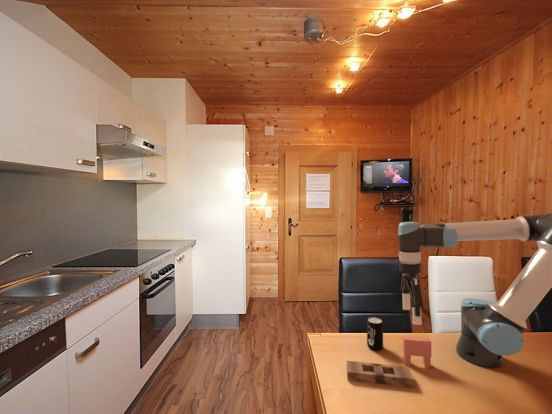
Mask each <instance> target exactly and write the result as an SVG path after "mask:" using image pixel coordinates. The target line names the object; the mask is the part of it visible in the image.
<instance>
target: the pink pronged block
mask: <svg viewBox="0 0 552 414" xmlns="http://www.w3.org/2000/svg"><path fill="white" fill-rule="evenodd" d="M402 352H403V363H404V365H405V366H409V367H410V366H412V356H413V357H422V364H423V366H424V367H425V368H431V366H432V364H431V363H432V361H431V358H432V341H431V339H430V338H428V337H418V336H402Z"/></svg>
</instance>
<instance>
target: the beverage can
mask: <svg viewBox="0 0 552 414" xmlns="http://www.w3.org/2000/svg"><path fill="white" fill-rule="evenodd" d="M366 345H367V347H368V348H369V349H370V350H371V351H377V352H378V351H379V352H380V351H381V350H382V349H383V348H384V323H383V320H382V319H381V318H378V317H375V316H373V317H368V318H367V322H366Z"/></svg>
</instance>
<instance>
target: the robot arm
mask: <svg viewBox="0 0 552 414" xmlns="http://www.w3.org/2000/svg"><path fill="white" fill-rule="evenodd" d="M397 231H398V233H397V235H398V240H397V241H398V252H399V253H397V256H398V260H399V263H398V264H399V265H398V266H399V267H398V269H399V272H400V273H402V274H401V284H400V290H401V292H402V310H403V311H404V310H405V311H411V308H412V324H413V325H417V326H421V325H423V323H422V308H424V303H423V302H424V301H423V297H422V296H423V295H422V290H421V285H420V281H421V280H420V278H417V275H418V274H421V273H422V263H421V261H422V257H421V256H422V255H421V254H422V253H421V252H422V251H421V248H444V249H446V248H455V247H456V246H457V244H458V242H459V241H460V242H462V241H463V242H464V241H465V242H468V241H469V242H470V241H491V240H494V241H495V240H496V241H497V240H519V241H521V242H536V244H537V246H538V249H537V250H536V251H535V252H534V254H533V255H532V256H531V258H529V260H528V261H527V263H526V264H525V265H524V267H523V268H522V269H521V271H520V272H519V273H518V275H517V276H516V278H515V279H514V280H513V282H512V283H511V284H510V285H509V287H508V288H507V289H506V290H505V292H504V293H503V295H502V296H501V297H500V299H499V300H498V301H497V302H494V301H491V300H486V299H480V298H471V297H470V298H463V299H462V300H461V303H460V304H461V305H460V308H461V309H460V319H461V321H460V322H461V325H460V328H461V329H460V332H461V333H460V336H459V338H458V340H457V342H456V345H455V347H456V349H455V350H456V351H455V352H456V353H457V355H458V356H459V357H460V358H462V359H463V360H465V361H466V362H469V363H471V364H473V365H478V366H480V367H485V368H499V367H501V366H503V363H504V360H503V357H504V356H505V357H506V356H513V355H516V354H518V353H519V352H521V351H522V349H523V348H524V345H525V342H524V336H523V334H524V333H525V332H526V330H527V329H528V326H527V322H526V320H527V319H528V318H529V316H530V315H531V314H532V313H533V311H535V310H536V309H537V307H538V306H539V304H540V303H541V302H542V300H543V299H544V297H545V296H546V295H547V294H548V293H549V291H551V289H552V212H547V213H540V214H533V215H523V216H521V215H519V216H517V217H516V218H515V219H498V220H495V219H494V220H482V221H481V220H480V221H479V220H478V221H463V222H446V223H445V222H444V223H430V222H429V223H424V224H422V225H420V223H419V222H417V221H404V222H403V221H402V222H400V223H399V224H398V230H397ZM411 300H412V301H411ZM411 302H412V304H411Z"/></svg>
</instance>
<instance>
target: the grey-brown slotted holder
mask: <svg viewBox="0 0 552 414" xmlns="http://www.w3.org/2000/svg"><path fill="white" fill-rule="evenodd" d="M409 367H410V366H406V365H405V366H404V365H394V364H393V365H392V364H386V363H385V364H382V363H373V362H364V361H355V360H354V361H353V360H346V377H347V381H350V382H360V383H368V384H369V383H370V384H375V385H377V384H379V385H387V386H396V387H404V388H415V379H414V376H413V374H412V372H411V370H410V368H409Z"/></svg>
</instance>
